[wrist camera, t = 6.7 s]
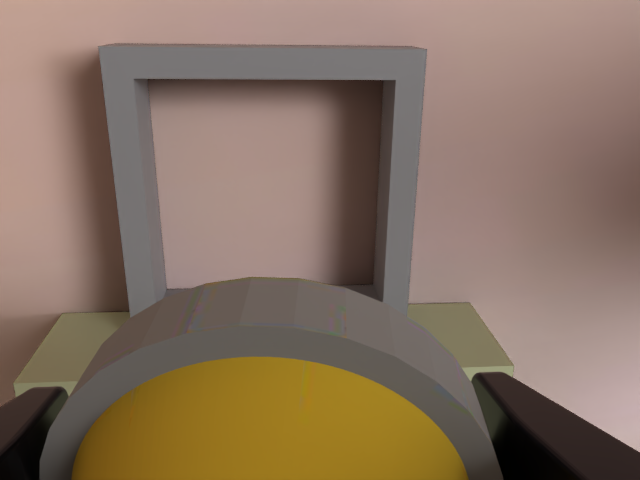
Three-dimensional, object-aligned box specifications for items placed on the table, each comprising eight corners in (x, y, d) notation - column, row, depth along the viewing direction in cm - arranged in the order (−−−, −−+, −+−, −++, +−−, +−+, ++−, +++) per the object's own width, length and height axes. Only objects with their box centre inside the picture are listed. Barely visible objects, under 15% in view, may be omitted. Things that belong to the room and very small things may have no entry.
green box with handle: (500, 47, 17) (562, 55, 14) (441, 542, 25) (472, 636, 21) (17, 42, 16) (-57, 49, 13) (103, 563, 23) (72, 665, 20)
